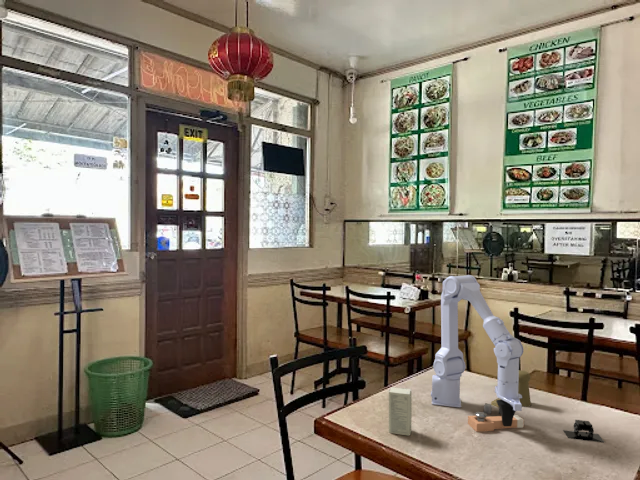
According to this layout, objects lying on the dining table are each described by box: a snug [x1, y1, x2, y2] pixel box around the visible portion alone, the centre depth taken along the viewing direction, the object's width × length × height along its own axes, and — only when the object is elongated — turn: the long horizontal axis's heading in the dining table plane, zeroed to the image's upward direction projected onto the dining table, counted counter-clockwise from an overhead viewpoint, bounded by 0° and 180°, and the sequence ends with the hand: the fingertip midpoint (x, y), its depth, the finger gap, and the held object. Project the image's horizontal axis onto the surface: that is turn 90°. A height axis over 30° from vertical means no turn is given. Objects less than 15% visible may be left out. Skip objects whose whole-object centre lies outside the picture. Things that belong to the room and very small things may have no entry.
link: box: [467, 414, 525, 433], centre depth 133 cm, size 16×5×2 cm, turn 98°
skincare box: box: [388, 386, 413, 436], centre depth 129 cm, size 6×4×12 cm
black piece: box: [562, 419, 605, 443], centre depth 128 cm, size 12×7×5 cm, turn 76°
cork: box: [518, 369, 532, 408], centre depth 152 cm, size 6×6×11 cm
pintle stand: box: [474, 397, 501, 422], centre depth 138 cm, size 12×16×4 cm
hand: (506, 425), depth 132 cm, fingers closed, pressing on link
